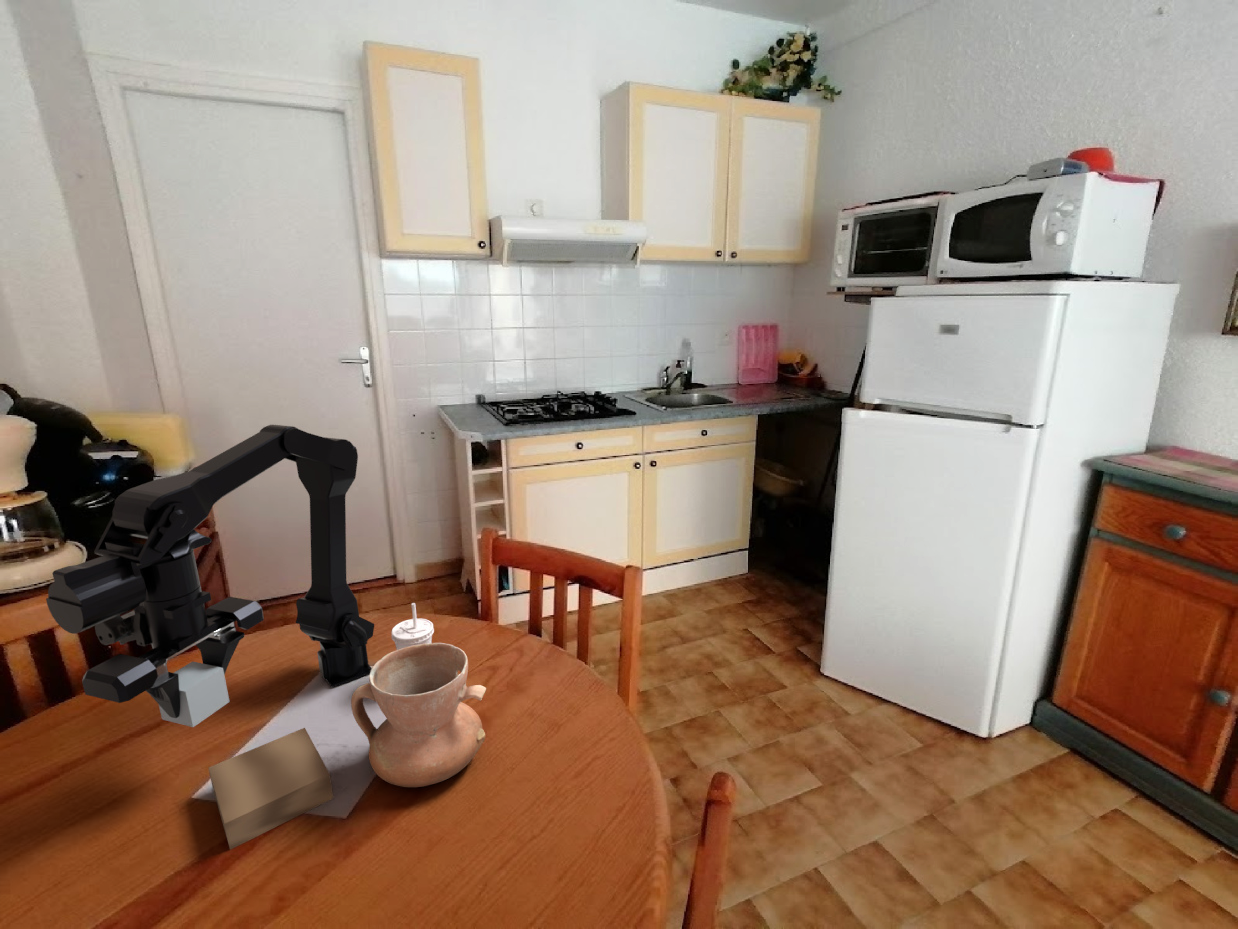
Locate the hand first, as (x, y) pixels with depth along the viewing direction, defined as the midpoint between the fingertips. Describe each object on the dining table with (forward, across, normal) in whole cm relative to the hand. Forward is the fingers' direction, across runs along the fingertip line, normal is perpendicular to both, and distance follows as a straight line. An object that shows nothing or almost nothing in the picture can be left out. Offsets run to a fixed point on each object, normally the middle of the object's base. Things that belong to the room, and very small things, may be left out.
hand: (195, 703), depth 75 cm
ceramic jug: (+11, -10, +25) cm, 29 cm away
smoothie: (+11, -25, +14) cm, 31 cm away
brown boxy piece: (+11, +1, +11) cm, 15 cm away
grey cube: (+1, 0, 0) cm, 1 cm away
